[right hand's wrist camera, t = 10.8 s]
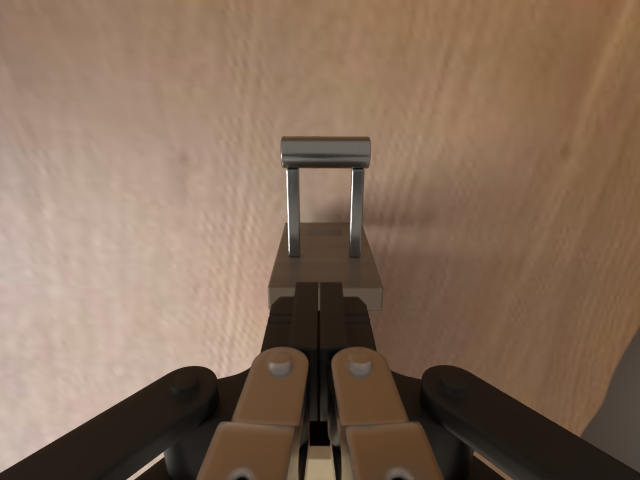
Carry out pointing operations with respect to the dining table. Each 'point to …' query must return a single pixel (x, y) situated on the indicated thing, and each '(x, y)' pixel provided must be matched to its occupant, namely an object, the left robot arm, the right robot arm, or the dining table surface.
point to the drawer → (325, 236)
